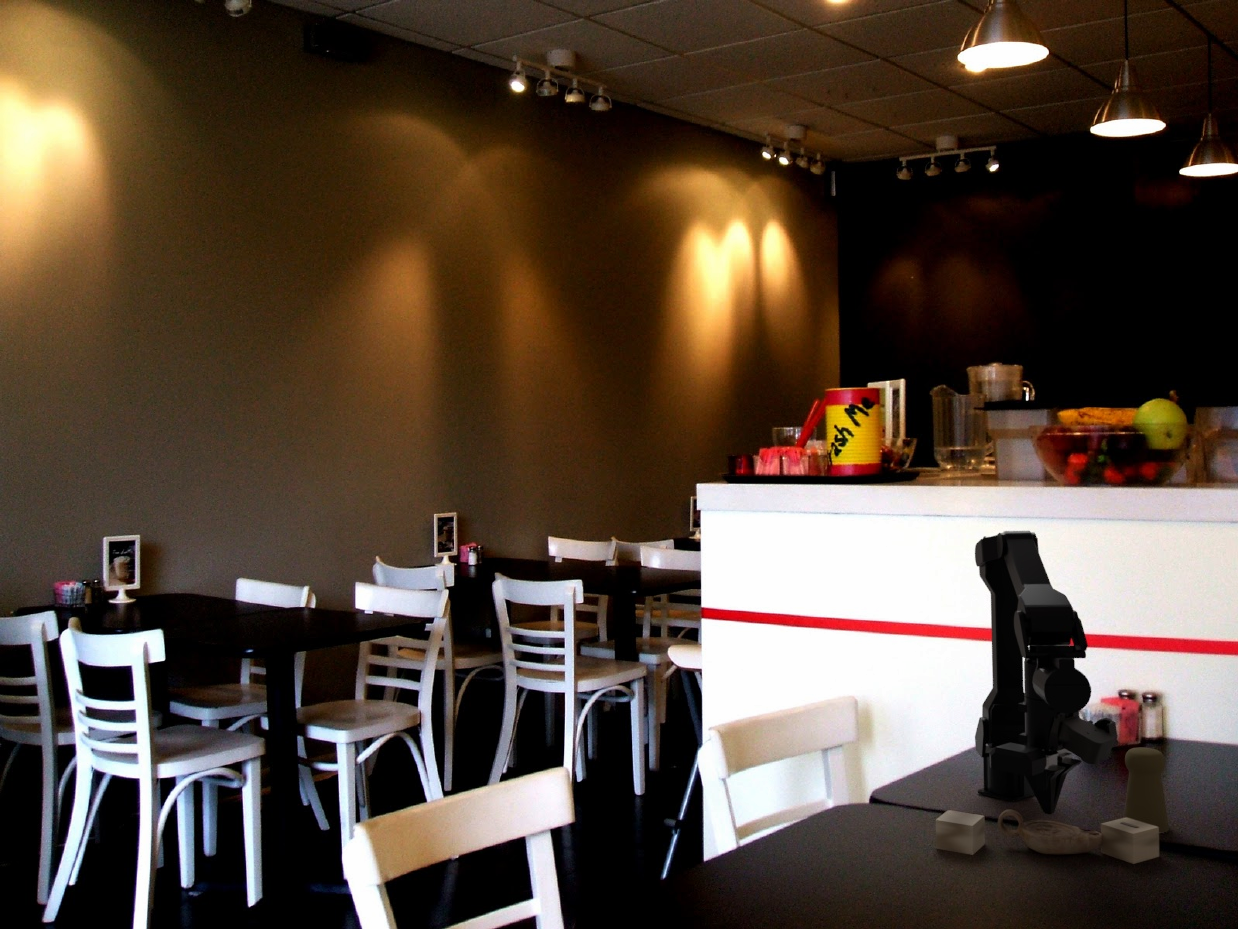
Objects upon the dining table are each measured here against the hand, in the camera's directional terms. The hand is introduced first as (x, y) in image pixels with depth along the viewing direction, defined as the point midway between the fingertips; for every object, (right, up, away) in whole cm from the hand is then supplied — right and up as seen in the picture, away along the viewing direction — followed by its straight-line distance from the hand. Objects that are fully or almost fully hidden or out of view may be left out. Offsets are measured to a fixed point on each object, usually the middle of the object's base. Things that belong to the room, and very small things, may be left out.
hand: (1048, 813), depth 164 cm
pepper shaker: (+16, -5, +9) cm, 19 cm away
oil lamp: (0, -5, 0) cm, 5 cm away
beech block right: (+10, -5, -2) cm, 11 cm away
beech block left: (-11, -5, +3) cm, 12 cm away
